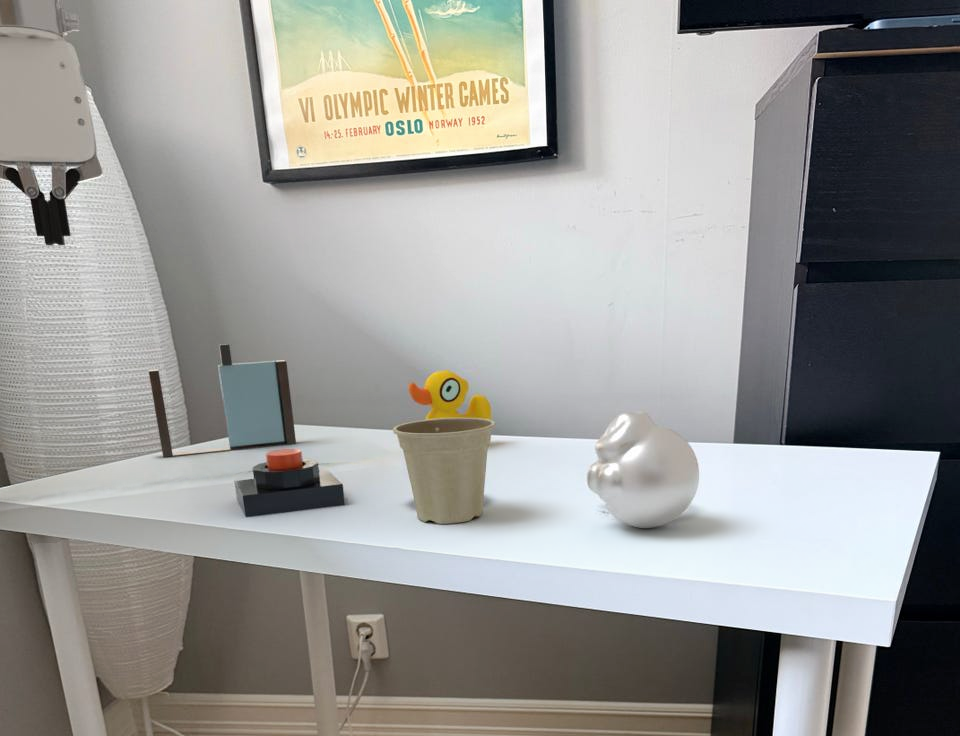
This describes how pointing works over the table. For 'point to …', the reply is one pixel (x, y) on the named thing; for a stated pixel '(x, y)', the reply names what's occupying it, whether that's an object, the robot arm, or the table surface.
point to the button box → (288, 490)
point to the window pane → (250, 401)
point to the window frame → (284, 406)
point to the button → (284, 459)
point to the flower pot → (446, 466)
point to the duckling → (449, 397)
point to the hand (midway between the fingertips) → (55, 244)
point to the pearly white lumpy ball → (643, 471)
